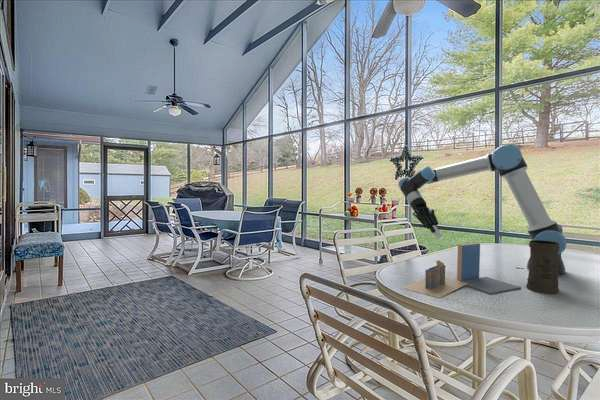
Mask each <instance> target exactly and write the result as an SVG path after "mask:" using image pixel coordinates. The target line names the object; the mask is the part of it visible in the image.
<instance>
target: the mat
mask: <svg viewBox="0 0 600 400" xmlns="http://www.w3.org/2000/svg"><path fill="white" fill-rule="evenodd" d="M460 282H465V283H468V284H466V285H464V286H465V287H468V288H470V289H474V290H475V291H480V292H482V293H485V294H488V295H494V294H501V293H506V292H511V291H516V290H517V291H518V290H522V286H518V285H515V284H512V283H509V282H505V281H502V280H499V279H495V278H491V277H488V276H482V277H479V278H475V279H468V280H462V281H460ZM464 286H463V287H464Z"/></svg>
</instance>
